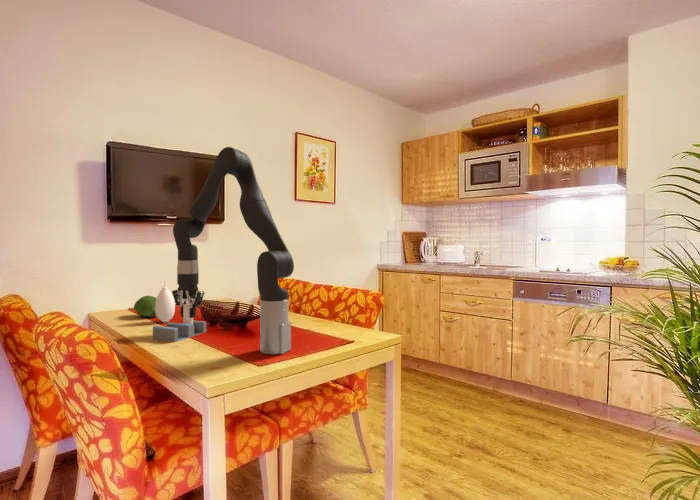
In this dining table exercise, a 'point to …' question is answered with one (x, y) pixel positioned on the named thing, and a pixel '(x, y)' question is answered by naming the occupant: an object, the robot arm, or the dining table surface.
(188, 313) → the white rectangular bar
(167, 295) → the white egg candle
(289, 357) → the dining table surface
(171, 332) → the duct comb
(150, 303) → the fruit
